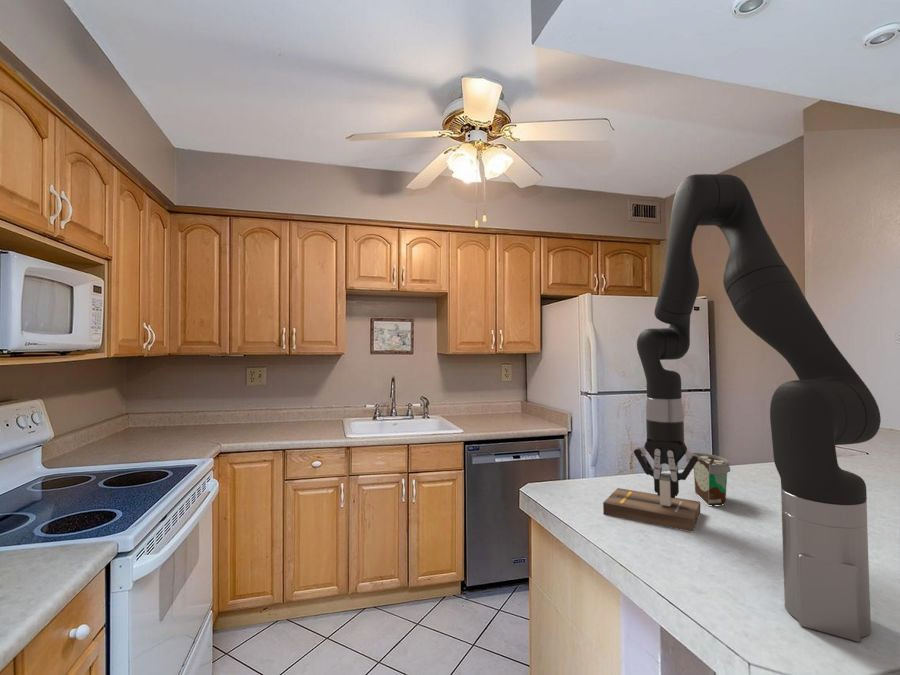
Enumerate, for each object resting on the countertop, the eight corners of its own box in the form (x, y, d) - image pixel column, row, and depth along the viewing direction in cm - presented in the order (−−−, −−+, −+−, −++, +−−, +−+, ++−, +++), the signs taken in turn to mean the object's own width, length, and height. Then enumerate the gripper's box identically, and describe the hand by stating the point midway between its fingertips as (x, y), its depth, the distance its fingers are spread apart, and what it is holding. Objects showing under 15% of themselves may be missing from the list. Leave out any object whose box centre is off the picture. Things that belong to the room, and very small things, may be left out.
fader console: (693, 532, 90) (692, 519, 90) (603, 513, 101) (603, 502, 101) (700, 512, 100) (700, 501, 100) (618, 498, 111) (617, 487, 111)
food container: (740, 510, 101) (739, 466, 101) (711, 508, 102) (709, 465, 103) (719, 492, 113) (718, 452, 113) (693, 491, 114) (692, 452, 115)
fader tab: (670, 506, 96) (669, 478, 96) (659, 504, 98) (659, 477, 98) (673, 500, 100) (672, 473, 100) (663, 499, 101) (662, 472, 101)
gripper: (627, 417, 100) (629, 495, 100) (697, 423, 92) (700, 507, 92) (635, 413, 106) (637, 486, 106) (702, 417, 98) (704, 496, 98)
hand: (666, 495), depth 99 cm, fingers closed on fader tab, 2 cm apart
